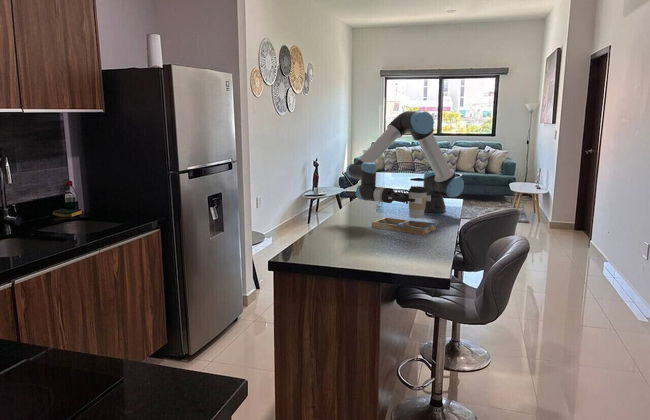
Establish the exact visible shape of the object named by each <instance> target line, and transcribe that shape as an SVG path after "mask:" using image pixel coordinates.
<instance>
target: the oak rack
mask: <svg viewBox="0 0 650 420" xmlns="http://www.w3.org/2000/svg"><path fill="white" fill-rule="evenodd" d="M437 225H438V224H437V223H435V222H427V221H420V220H413V219H401V218H393V217H388V216H387V217H384V218H380V219H377V220H374V221H371V228H377V229H383V230H389V231H395V230H396V232H404V233H408V234H409V233H410V234H416V235H423V236H424V235H426V234H428V233H429V234H430V232H433V231H436V230H437V227H438V226H437Z"/></svg>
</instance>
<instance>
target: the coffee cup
mask: <svg viewBox="0 0 650 420" xmlns="http://www.w3.org/2000/svg"><path fill="white" fill-rule="evenodd" d="M407 193H409V197H417V198H422V204H418V203H409V202H408V211H409V213H408V215H409V218H411V219H423V218H424V217H425V212H424V210H425V205H426V198H427V197H426V195H427V190H426V189H425V187H423V186H421V185H420V186H418V185H417V186H416V185H415V186H414V185H411V186H410V188H408V191H407Z"/></svg>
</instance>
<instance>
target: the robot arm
mask: <svg viewBox="0 0 650 420" xmlns="http://www.w3.org/2000/svg"><path fill="white" fill-rule="evenodd" d="M434 124H435V119H434V117H433V115H432V114H431V113H430V112H428V111H426V110H425V111H424V110H415V111H413V110H407V111H403V112H402V113H399V114H398V115H397V116H396V117H394V118H393V119H392V121H390V123H389V124H387V126H386V130H384V132H382V134H380V136H379V137H378V138H377V139H376V140H375V141H374V142H373V143H372V144H371V146H369V147H368V148H367V150H365V152H364V153H363V154H361V156H360V157H359V158H358V159H357V160H356V161H355V162H354V163H350V164H348V165H347V167H346V169H345V172H346V175H347V176H348V177H349V178H352V179H356V180H360V185H357V187H356V190H355V197H356V198H357V199H359V200H361V201H362V200H363V201H369V202H377V203H379V204H381V203H385V204H392V203H393V202H398V203H403V204H406V205H409V203H418V204H422V198H417V197H409V192H400V191H396V192H395V189H394V188H393V187H383V186H377V185H376V184H377V180H376V178H377V163H375V162H376V161H377V160H378V159H379V158H380V157H381V156H383V154H384V153H385V151H387V149H389V148H390V147H391V146H392V144H394V142H395V141H396V140H397V139H401V138H402V137H403V136H404V135H406V134H410V135H411V137H412V139H413V140H414V141H416V142H418V143H419V144H418V145H419V146H420V148H421V150H422V152H423V154H424V155H425V158H426V160H427V161H428V162H427V163H428V164H429V165H430V167H431V170H432V171H429V172H425V173H424V175H423V186H422V187H425V189H426V190H427V195H426V197H427V198H426V205H425V210H424V213H431V214H432V213H435V214H437V213H440V214H441V213H444V212H446V208H447V207H446V204H445V200H444V199H445V198H444V197H449V198H457V197H458V196H460V195H461V194H462V193H463V192H464V191H463V190H464V188H465V182H464V179H463V178H462V177H461V176H458V175H457V174H456V171H455V170H454V169H453V168H450V165H449V164H448V162H447V160H446V158H445V155H444V154H443V152H442V150H441V148H440V146H439V144H438V142H437V139H436V138H435V134H434V131H435V129H434V127H435V125H434Z"/></svg>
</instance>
